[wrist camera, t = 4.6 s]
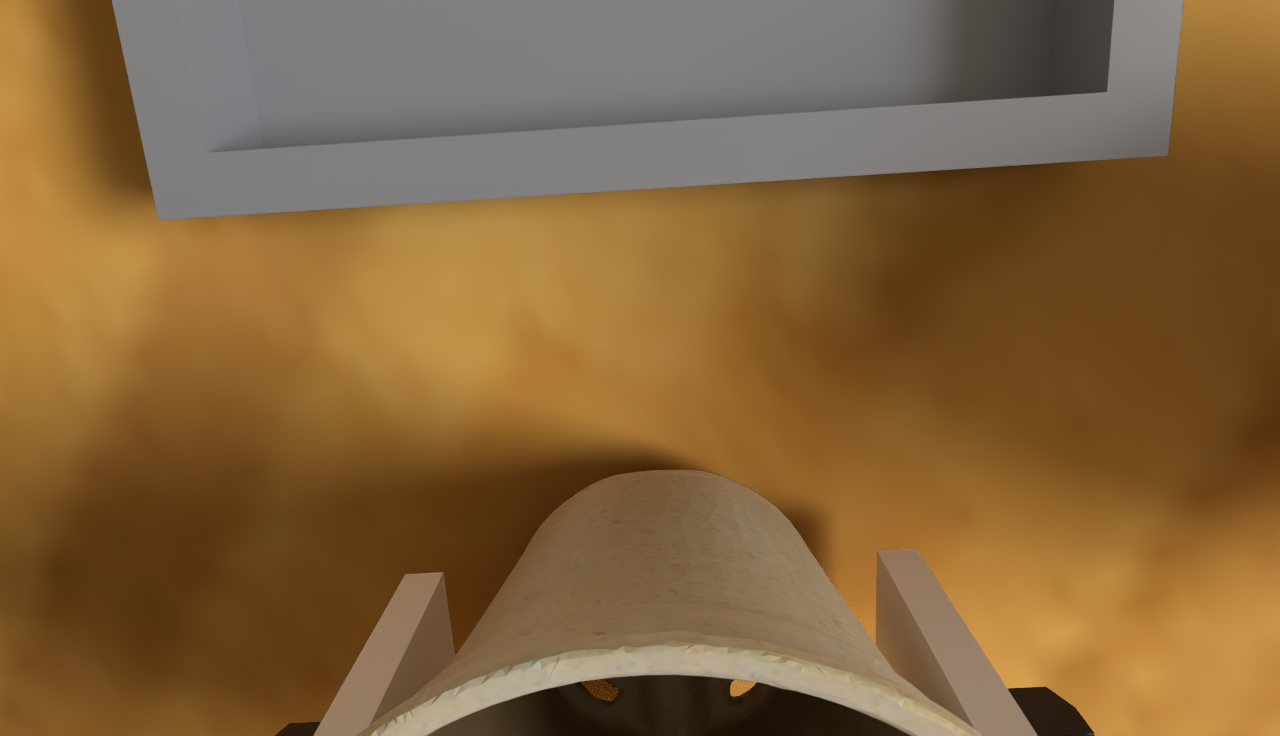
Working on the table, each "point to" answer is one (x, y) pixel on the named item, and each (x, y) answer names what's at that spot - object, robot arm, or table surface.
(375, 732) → the flower pot
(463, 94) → the housing tray
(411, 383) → the table surface
